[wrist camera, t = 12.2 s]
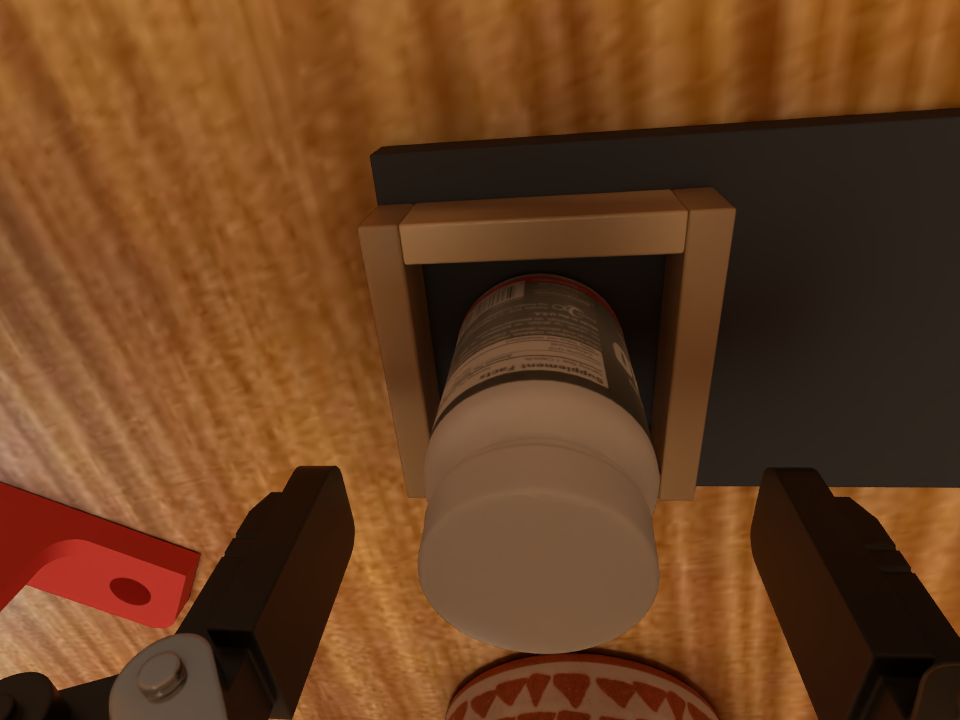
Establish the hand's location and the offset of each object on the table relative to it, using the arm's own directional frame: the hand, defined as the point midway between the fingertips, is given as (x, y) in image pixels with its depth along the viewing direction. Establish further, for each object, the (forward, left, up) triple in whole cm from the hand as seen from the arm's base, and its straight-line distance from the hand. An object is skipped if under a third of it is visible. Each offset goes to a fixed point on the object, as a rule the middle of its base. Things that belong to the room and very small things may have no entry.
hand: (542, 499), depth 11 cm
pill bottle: (0, 0, -7) cm, 7 cm away
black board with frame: (+3, +5, -8) cm, 9 cm away
